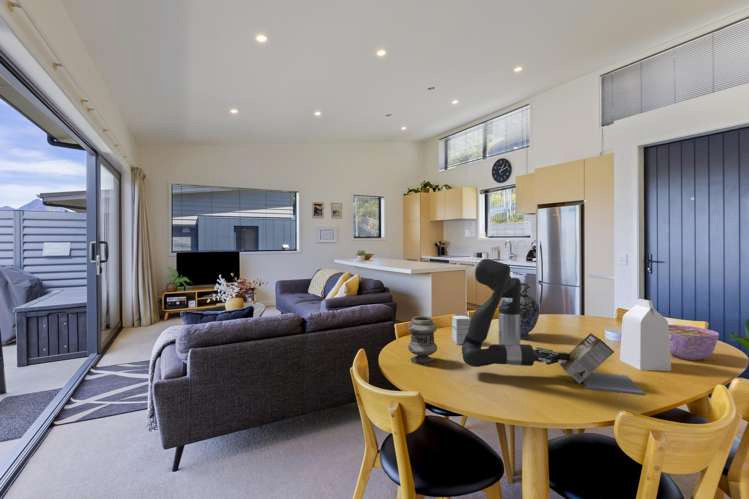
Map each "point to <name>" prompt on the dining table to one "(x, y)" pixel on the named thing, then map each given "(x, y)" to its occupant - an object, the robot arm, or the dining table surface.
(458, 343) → the supplement box
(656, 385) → the dining table surface
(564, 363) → the coffee box
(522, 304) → the decorative vase
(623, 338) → the milk
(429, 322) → the apothecary jar
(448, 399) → the dining table surface
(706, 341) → the bowl of food
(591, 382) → the grey mat
